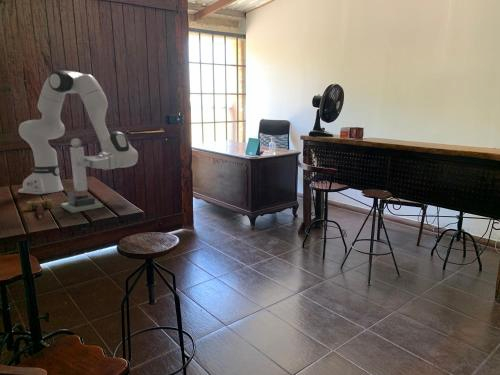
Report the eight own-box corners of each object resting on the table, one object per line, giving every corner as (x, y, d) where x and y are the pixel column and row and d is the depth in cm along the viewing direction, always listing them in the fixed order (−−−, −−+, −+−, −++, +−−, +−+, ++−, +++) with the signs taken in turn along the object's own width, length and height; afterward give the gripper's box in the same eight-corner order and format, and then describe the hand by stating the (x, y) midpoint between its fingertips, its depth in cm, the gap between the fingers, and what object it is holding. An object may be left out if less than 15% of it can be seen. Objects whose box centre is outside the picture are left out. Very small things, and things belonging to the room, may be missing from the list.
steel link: (83, 188, 182) (78, 137, 177) (87, 190, 179) (82, 138, 174) (74, 190, 179) (68, 138, 174) (78, 191, 176) (72, 138, 171)
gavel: (53, 211, 162) (26, 214, 158) (54, 221, 164) (27, 224, 159) (51, 197, 180) (26, 200, 175) (52, 206, 181) (27, 209, 176)
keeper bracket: (90, 201, 190) (89, 187, 189) (103, 207, 180) (101, 192, 179) (61, 206, 181) (59, 192, 179) (72, 212, 171) (70, 197, 169)
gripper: (96, 152, 191) (67, 154, 182) (114, 155, 177) (84, 159, 168) (97, 164, 193) (68, 167, 183) (115, 169, 178) (85, 173, 169)
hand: (76, 163), depth 175 cm, fingers closed on steel link, 4 cm apart
